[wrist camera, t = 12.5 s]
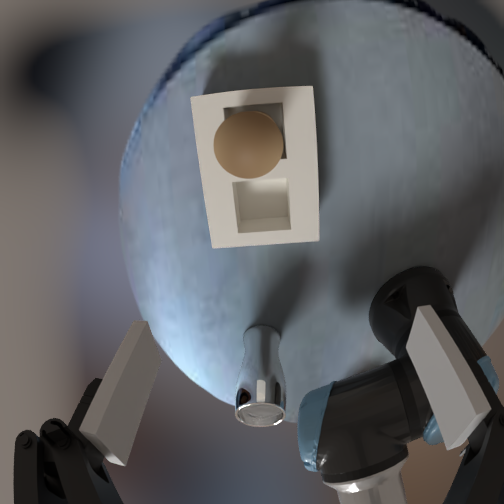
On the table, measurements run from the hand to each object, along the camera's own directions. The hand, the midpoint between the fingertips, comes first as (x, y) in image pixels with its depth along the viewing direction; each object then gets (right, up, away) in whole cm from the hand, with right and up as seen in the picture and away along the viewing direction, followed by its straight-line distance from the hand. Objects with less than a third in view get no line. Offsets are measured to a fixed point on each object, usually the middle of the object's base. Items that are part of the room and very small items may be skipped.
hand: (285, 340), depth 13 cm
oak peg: (-1, +18, +18) cm, 25 cm away
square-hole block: (-1, +15, +21) cm, 26 cm away
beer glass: (0, -10, +34) cm, 35 cm away
